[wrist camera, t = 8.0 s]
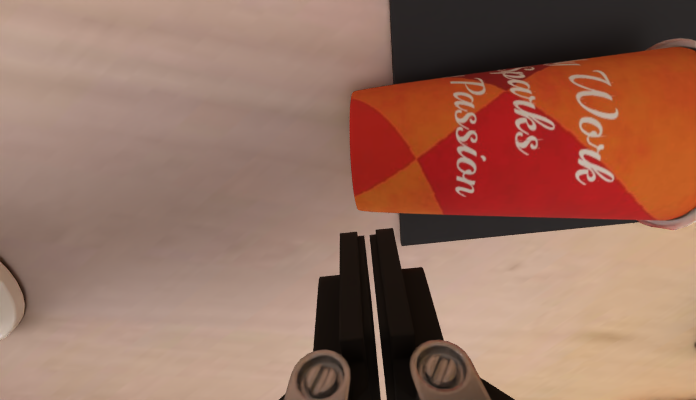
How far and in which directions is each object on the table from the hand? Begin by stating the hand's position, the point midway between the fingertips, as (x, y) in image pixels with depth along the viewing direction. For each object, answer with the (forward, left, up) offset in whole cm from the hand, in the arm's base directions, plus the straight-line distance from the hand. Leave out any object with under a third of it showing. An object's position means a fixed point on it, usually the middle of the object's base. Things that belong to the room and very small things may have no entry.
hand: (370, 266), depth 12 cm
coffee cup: (0, 0, -8) cm, 8 cm away
